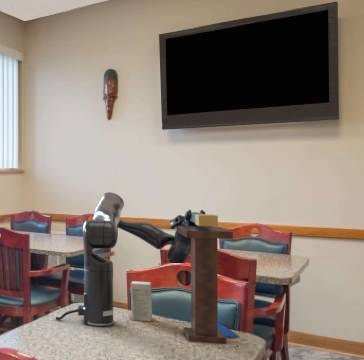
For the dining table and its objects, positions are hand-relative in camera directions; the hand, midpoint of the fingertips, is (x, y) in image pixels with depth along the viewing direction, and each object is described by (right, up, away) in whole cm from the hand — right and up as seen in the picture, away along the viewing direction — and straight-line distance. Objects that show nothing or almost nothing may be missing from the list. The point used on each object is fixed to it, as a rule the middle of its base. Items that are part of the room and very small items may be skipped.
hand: (196, 212), depth 155 cm
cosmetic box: (-14, -36, +8) cm, 40 cm away
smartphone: (+5, -37, -3) cm, 37 cm away
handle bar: (-1, -3, -5) cm, 6 cm away
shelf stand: (-2, -36, -11) cm, 38 cm away
